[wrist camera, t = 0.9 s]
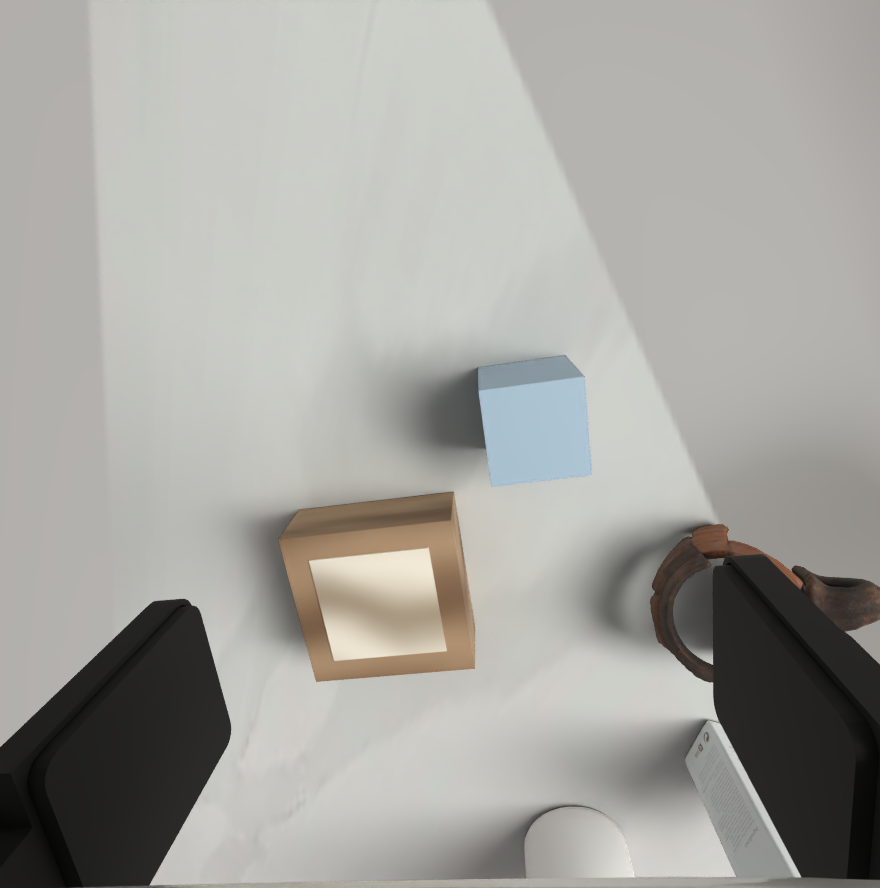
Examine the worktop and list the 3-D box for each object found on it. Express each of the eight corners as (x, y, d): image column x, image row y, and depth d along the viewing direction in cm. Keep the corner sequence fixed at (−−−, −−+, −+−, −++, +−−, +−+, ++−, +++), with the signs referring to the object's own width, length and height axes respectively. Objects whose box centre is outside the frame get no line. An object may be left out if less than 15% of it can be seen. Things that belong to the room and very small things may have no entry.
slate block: (477, 367, 33) (478, 390, 27) (565, 355, 32) (584, 376, 27) (488, 448, 34) (491, 487, 29) (572, 438, 34) (592, 475, 28)
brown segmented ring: (684, 670, 39) (673, 718, 32) (640, 535, 41) (619, 552, 33) (892, 641, 34) (936, 691, 27) (832, 489, 35) (858, 496, 28)
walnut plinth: (298, 509, 36) (277, 540, 32) (453, 491, 35) (450, 521, 31) (331, 640, 39) (315, 682, 35) (475, 627, 38) (474, 669, 34)
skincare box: (681, 760, 41) (761, 958, 29) (707, 713, 39) (802, 902, 28) (762, 782, 41) (873, 987, 29) (791, 736, 40) (920, 933, 28)
